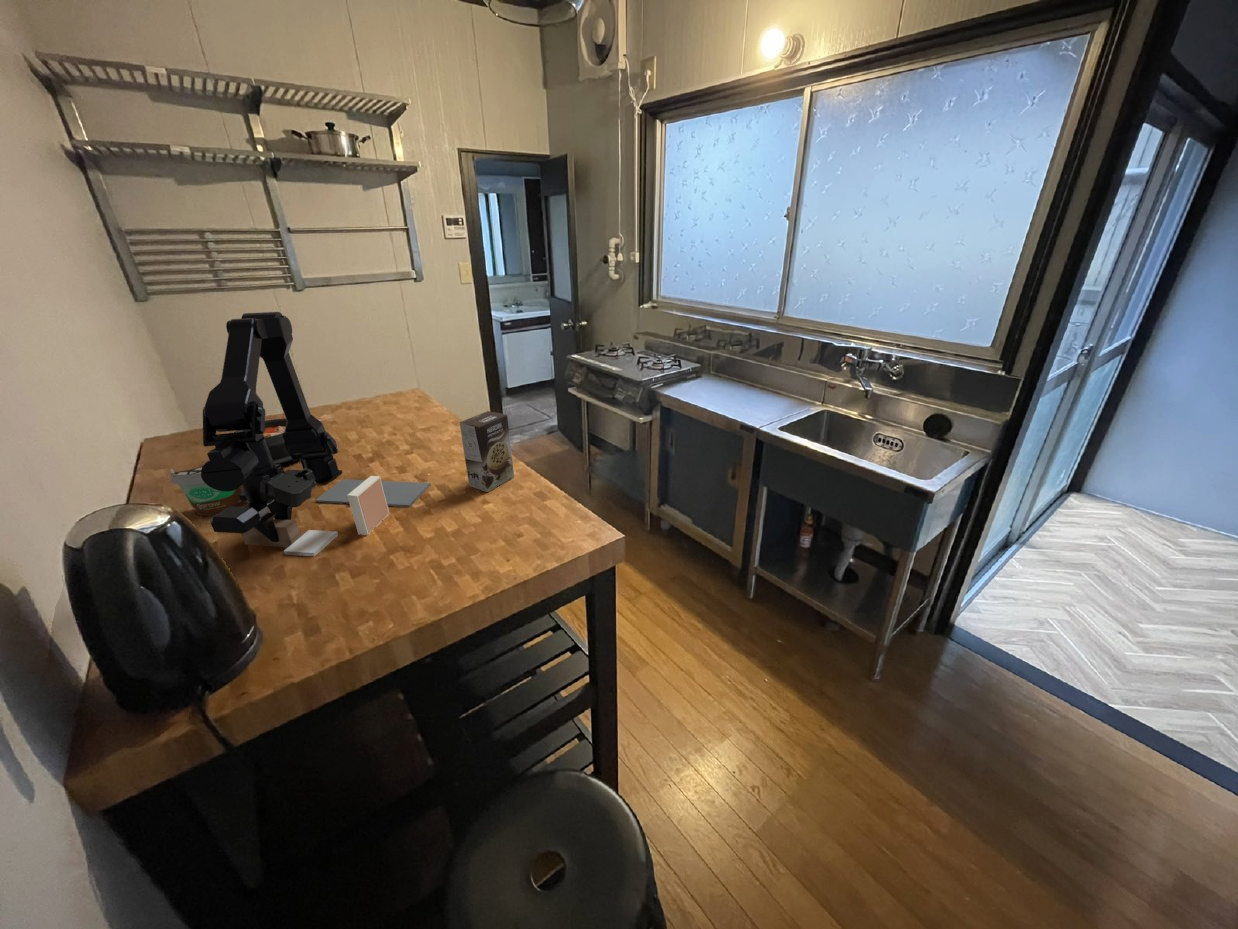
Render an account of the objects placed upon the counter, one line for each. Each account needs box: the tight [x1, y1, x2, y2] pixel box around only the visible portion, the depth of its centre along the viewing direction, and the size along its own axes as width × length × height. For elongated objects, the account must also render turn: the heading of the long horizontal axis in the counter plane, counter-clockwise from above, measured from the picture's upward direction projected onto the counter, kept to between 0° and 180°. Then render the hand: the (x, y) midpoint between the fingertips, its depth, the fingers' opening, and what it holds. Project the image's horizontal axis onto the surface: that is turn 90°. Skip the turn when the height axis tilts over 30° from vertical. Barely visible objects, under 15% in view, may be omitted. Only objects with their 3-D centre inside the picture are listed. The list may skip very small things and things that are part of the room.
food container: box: [170, 465, 246, 516], centre depth 104 cm, size 12×6×10 cm, turn 117°
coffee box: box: [459, 410, 515, 493], centre depth 113 cm, size 9×6×16 cm
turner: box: [240, 518, 339, 557], centre depth 94 cm, size 16×7×4 cm, turn 84°
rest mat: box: [314, 478, 432, 508], centre depth 112 cm, size 22×10×1 cm, turn 84°
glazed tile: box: [347, 475, 390, 536], centre depth 99 cm, size 2×8×9 cm, turn 174°
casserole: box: [233, 418, 293, 465], centre depth 128 cm, size 25×19×8 cm
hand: (281, 537), depth 94 cm, fingers closed on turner, 3 cm apart
